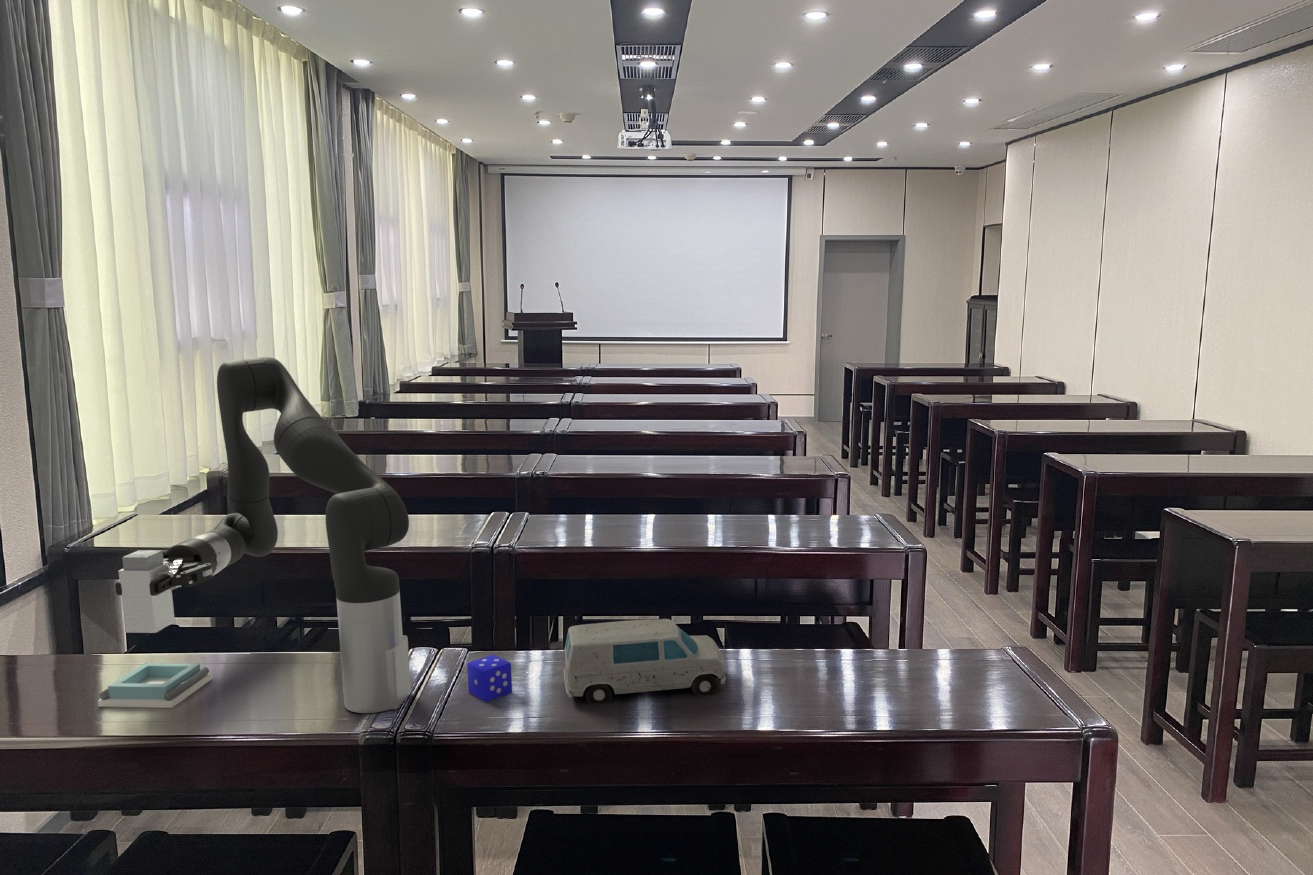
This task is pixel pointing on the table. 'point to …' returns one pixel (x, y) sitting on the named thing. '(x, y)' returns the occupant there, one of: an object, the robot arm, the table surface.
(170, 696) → the tray
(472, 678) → the die
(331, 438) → the robot arm
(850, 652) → the table surface
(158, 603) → the stepped metal tower
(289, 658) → the table surface
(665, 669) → the toy car
